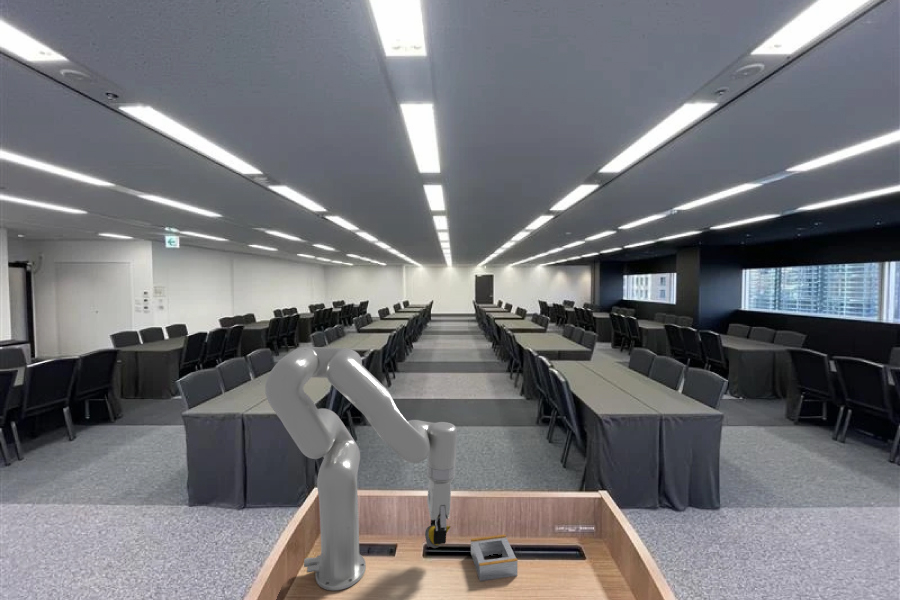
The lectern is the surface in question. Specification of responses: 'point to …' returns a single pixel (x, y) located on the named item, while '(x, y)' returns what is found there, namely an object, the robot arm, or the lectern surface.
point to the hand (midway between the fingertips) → (437, 534)
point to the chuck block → (493, 566)
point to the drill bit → (432, 536)
